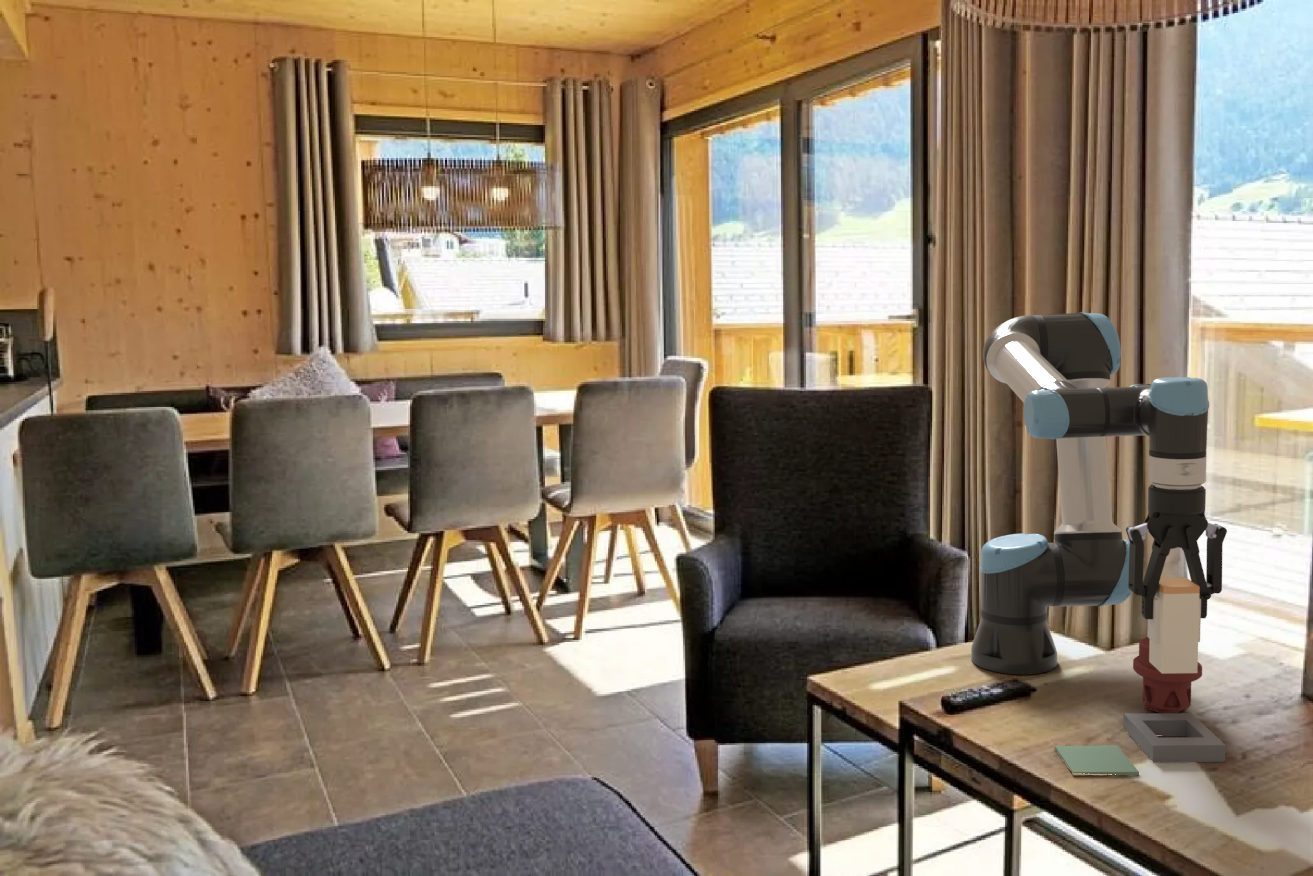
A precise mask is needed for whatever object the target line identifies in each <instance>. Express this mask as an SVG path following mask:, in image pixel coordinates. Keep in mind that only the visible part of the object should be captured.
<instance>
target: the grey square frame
mask: <svg viewBox="0 0 1313 876" xmlns="http://www.w3.org/2000/svg"><path fill="white" fill-rule="evenodd" d="M1124 729H1125V730H1126V731H1127V732H1128V733H1127V732H1126V731H1125V730H1124ZM1123 730H1124V731H1125V732H1126V733H1127V734H1128V736H1129V735H1130V736H1131V737H1132V738H1133V739H1134V740H1135V741H1136V742H1135V741H1134V740H1133V739H1132V738H1131V737H1130V736H1129V737H1130V738H1131V739H1132V740H1133V741H1134V742H1135V743H1137V744H1139V746H1140V747H1141V748H1140V747H1139V746H1138V747H1139V748H1140V749H1141V750H1142V749H1143V750H1142V751H1143V752H1145V753H1146V754H1147V755H1148V756H1147V755H1146V754H1145V753H1144V754H1145V755H1146V756H1147V757H1148V759H1150V758H1151V759H1150V760H1152V761H1153V762H1152V761H1151V762H1152V763H1205V762H1207V763H1210V762H1213V763H1214V762H1215V763H1220V762H1222V763H1223V762H1226V744H1225V743H1224V742H1223V741H1222V740H1221V739H1220V738H1218V736H1216V735H1215V733H1213V732H1212V731H1211V730H1210V729H1209V728H1208V727H1207V726H1206V725H1204V723H1202V722H1201V721H1200V720H1199V719H1198V718H1197V717H1196V716H1195V714H1192V713H1191V712H1187V713H1185V712H1181V713H1180V712H1177V713H1158V712H1155V713H1123ZM1156 735H1166V736H1165V737H1159V736H1156ZM1167 735H1168V736H1167ZM1169 735H1170V736H1169ZM1137 744H1136V745H1137Z"/></svg>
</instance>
